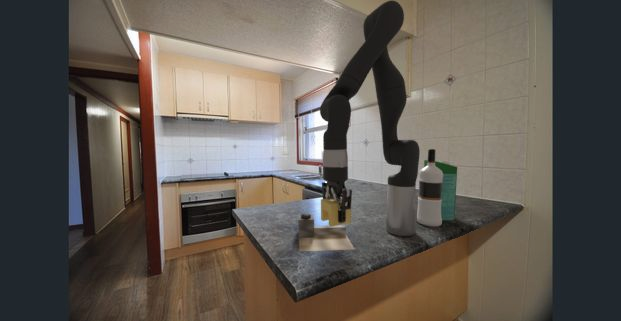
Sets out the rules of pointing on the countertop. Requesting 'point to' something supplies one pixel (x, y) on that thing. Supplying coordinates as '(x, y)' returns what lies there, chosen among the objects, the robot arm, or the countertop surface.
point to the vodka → (430, 193)
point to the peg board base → (321, 236)
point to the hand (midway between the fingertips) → (335, 218)
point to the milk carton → (447, 189)
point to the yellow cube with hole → (332, 212)
